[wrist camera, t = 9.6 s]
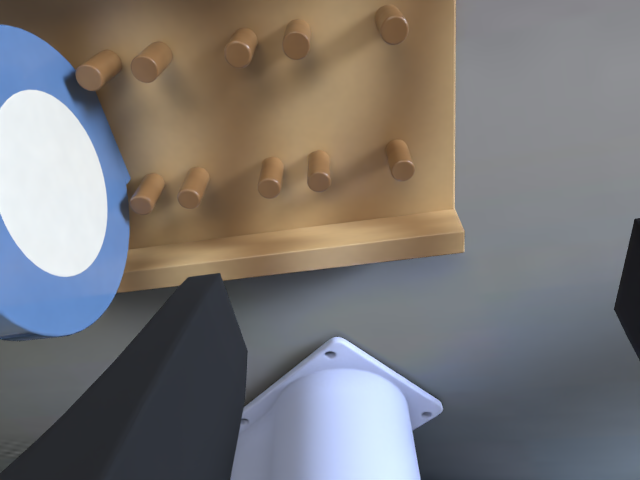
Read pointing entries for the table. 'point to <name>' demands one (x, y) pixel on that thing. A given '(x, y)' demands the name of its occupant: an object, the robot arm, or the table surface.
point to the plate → (55, 195)
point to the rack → (269, 128)
